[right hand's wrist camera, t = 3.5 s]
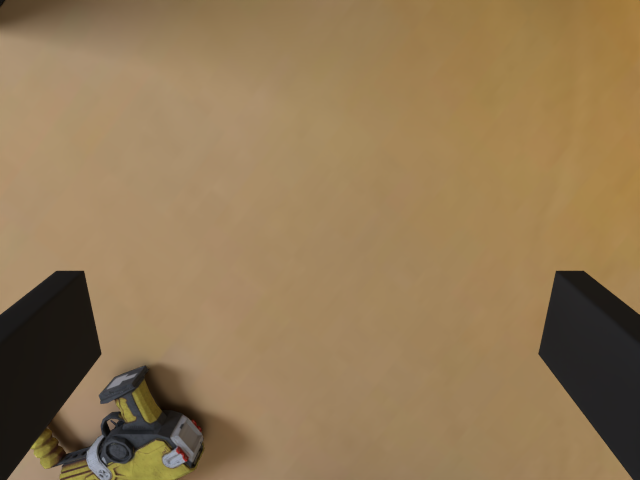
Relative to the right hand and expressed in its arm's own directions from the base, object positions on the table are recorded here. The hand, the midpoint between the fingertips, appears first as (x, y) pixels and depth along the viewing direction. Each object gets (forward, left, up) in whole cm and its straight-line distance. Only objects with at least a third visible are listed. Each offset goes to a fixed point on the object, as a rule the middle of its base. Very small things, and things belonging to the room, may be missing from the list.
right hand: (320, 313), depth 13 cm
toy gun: (-32, +26, -28) cm, 50 cm away
